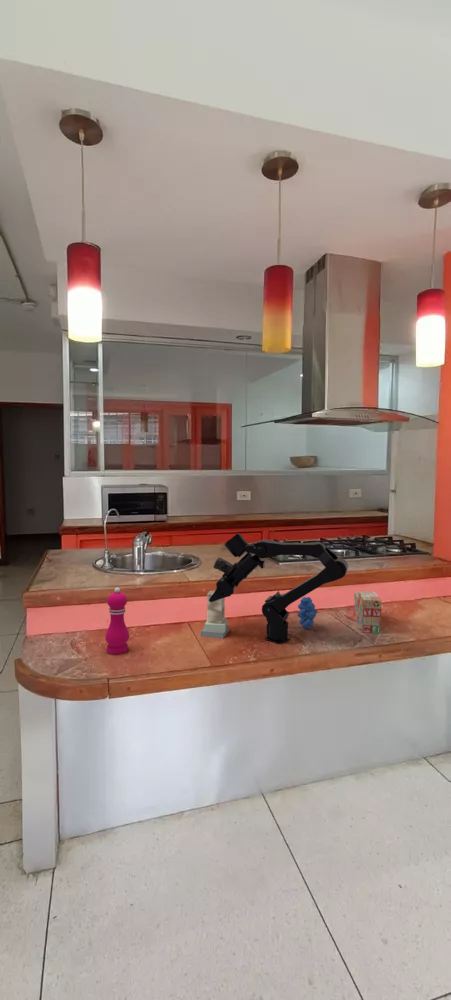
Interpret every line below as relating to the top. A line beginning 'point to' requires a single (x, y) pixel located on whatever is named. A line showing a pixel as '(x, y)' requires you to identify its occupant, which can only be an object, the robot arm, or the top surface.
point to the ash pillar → (215, 610)
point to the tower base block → (214, 633)
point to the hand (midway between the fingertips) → (212, 597)
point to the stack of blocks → (368, 611)
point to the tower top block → (216, 626)
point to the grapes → (306, 612)
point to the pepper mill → (117, 624)
